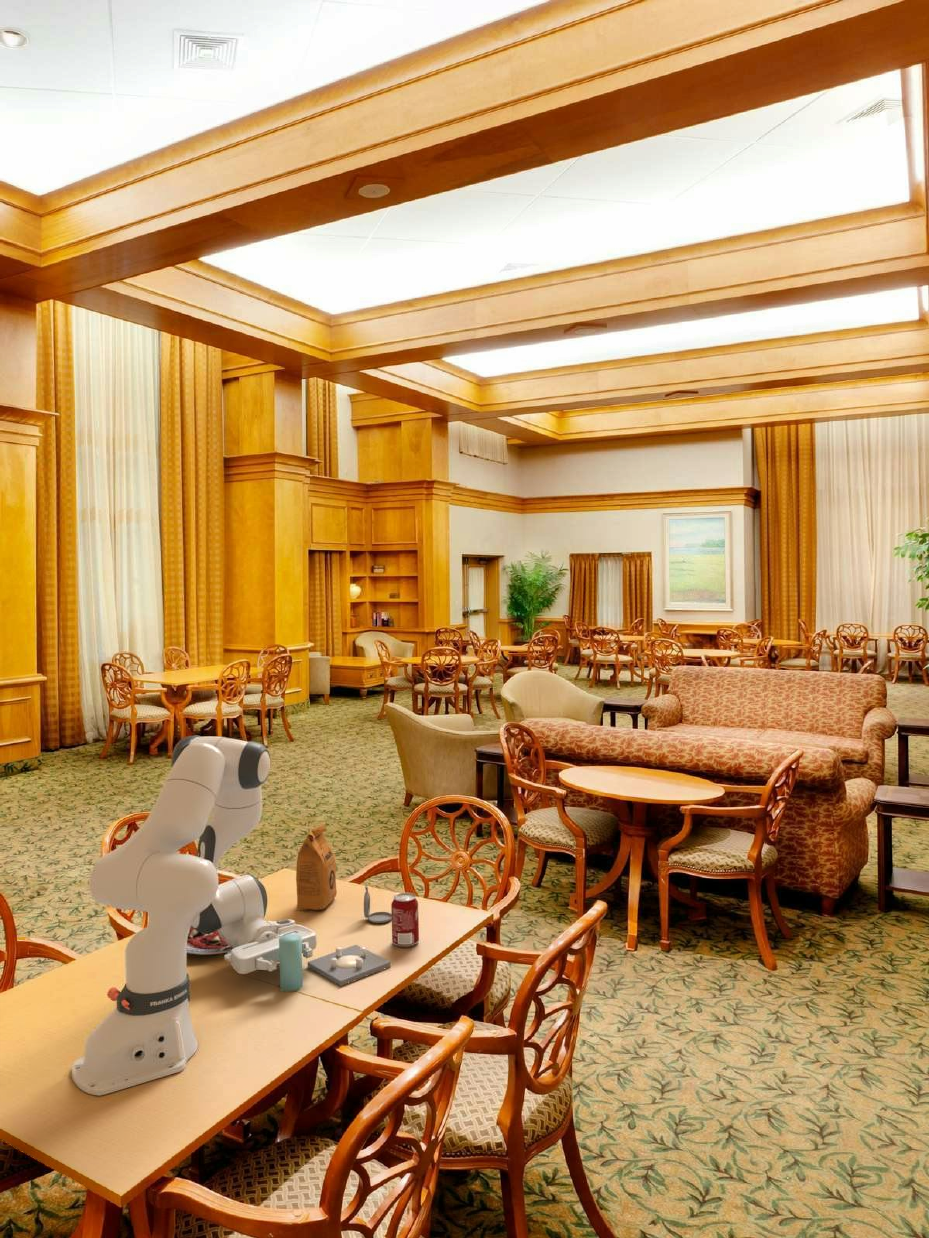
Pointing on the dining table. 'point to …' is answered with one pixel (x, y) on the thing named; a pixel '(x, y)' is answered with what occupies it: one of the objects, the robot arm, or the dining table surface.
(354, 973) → the dowel seat
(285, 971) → the teal post
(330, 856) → the coffee package
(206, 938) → the ceramic plate
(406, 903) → the soda can
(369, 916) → the pocket watch
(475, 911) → the dining table surface
